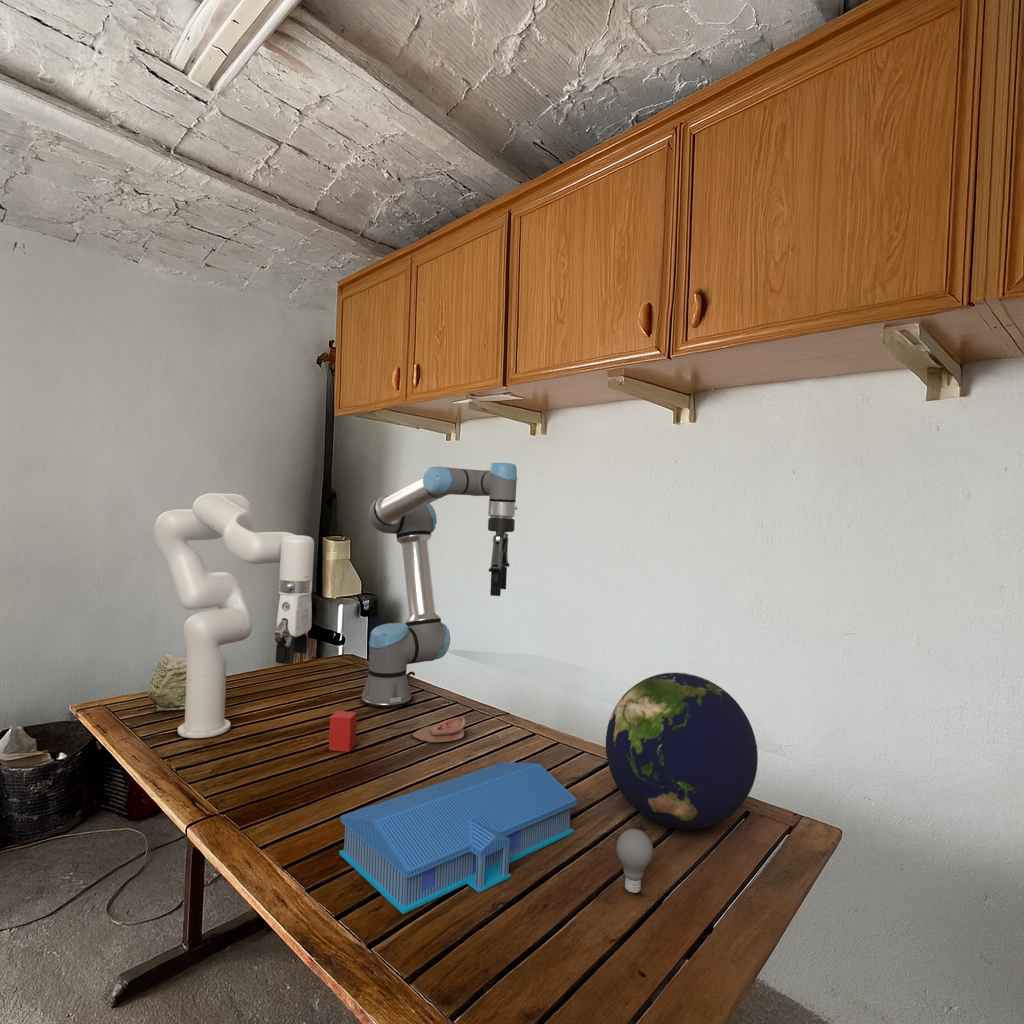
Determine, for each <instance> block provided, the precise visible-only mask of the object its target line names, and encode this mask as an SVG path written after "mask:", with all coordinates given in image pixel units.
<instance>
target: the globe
mask: <svg viewBox="0 0 1024 1024" xmlns="http://www.w3.org/2000/svg"><path fill="white" fill-rule="evenodd" d="M605 755H606V760H607V765H608V769H609V772H610V773H611V774H610V775H611V776H612V779H613V781H614V784H615V786H616V787H617V788H618V790H619V792H620V793H621V795H622V796H623V797H624V799H625V800H626V801H627V802H628V803H629V805H631V806H632V807H633V808H634V809H635V810H636V811H637V812H639V813H640V814H641V815H642V816H643V817H645V818H647V819H649V820H650V821H652V822H654V823H657V824H659V825H661V826H664V827H667V828H670V829H671V828H672V829H677V830H685V831H686V830H687V831H690V830H701V829H706V828H710V827H712V826H715V825H718V824H719V823H721V822H723V821H725V820H726V819H728V818H730V817H731V816H732V815H733V814H735V812H737V811H738V810H739V808H741V806H742V805H743V803H744V802H745V801H746V800H747V798H748V796H749V795H750V793H751V791H752V788H753V786H754V783H755V780H756V776H757V772H758V762H759V761H758V760H759V759H758V758H759V757H758V756H759V754H758V745H757V740H756V736H755V732H754V729H753V727H752V724H751V722H750V720H749V718H748V716H747V715H746V713H745V711H744V710H743V708H742V707H741V706H740V704H739V703H738V702H737V700H735V698H734V697H733V696H732V695H731V694H730V693H729V692H728V691H726V690H725V689H723V688H722V687H721V686H719V685H718V684H716V683H714V682H713V681H710V680H709V679H707V678H704V677H701V676H698V675H696V674H691V673H686V672H679V671H677V672H665V673H658V674H655V675H652V676H649V677H646V678H644V679H643V680H641V681H639V682H637V683H636V684H635V685H633V686H631V687H630V688H629V689H628V690H627V691H626V692H625V693H624V694H623V695H622V696H621V697H620V699H619V700H618V702H617V703H616V704H615V706H614V708H613V710H612V712H611V714H610V717H609V720H608V723H607V728H606V733H605Z"/></svg>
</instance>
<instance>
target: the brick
mask: <svg viewBox="0 0 1024 1024" xmlns="http://www.w3.org/2000/svg"><path fill="white" fill-rule="evenodd" d="M357 719H358V712H357V711H345V710H336V711H335V712H333V714H331V716H329V731H328V732H329V734H328V751H332V752H333V751H334V752H347V753H350V752H351V751H352V750H353V749H354V748H355V746H356V745H357V722H358V720H357Z"/></svg>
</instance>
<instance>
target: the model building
mask: <svg viewBox="0 0 1024 1024" xmlns="http://www.w3.org/2000/svg"><path fill="white" fill-rule="evenodd" d="M577 805H578V799H577V798H576V797H575V796H574V795H573V794H572V793H571V792H570V791H569V790H568V789H567V788H566V787H565V786H564V785H562V784H561V783H560V781H559V780H557V779H556V778H555V777H554V776H553V775H552V774H551V773H550V772H549V771H548V770H547V769H546V768H544V766H542V765H541V764H540V763H538V762H537V763H535V762H534V763H533V762H510V761H509V762H508V761H502V762H500V763H496V764H494V765H490V766H487V767H485V768H481V769H479V770H476V771H475V770H474V771H472V772H469V773H466V774H463V775H459V776H458V777H454V778H451V779H448V780H444V781H442V782H439V783H436V784H432V785H429V786H427V787H424V788H421V789H417V790H414V791H412V792H409V793H406V794H403V795H399V796H395V797H393V798H391V799H387V800H383V801H382V802H378V803H375V804H372V805H369V806H366V807H362V808H360V809H357V810H353V811H351V812H348V813H345V814H342V815H340V822H341V823H342V825H344V846H343V849H342V850H339V851H338V855H339V856H340V857H341V858H343V859H344V860H345V862H347V864H349V865H350V866H351V867H352V868H353V869H354V870H355V871H357V872H358V873H359V874H360V875H361V876H362V878H364V879H365V881H367V882H368V883H369V884H370V885H371V886H372V887H373V888H374V889H375V890H376V891H377V892H379V893H380V894H381V895H382V896H383V897H384V898H385V899H386V900H387V901H388V902H389V903H390V904H392V906H393V907H395V908H396V909H397V910H398V911H399V912H400V913H401V914H402V915H405V914H407V913H409V912H411V911H413V910H415V909H417V908H419V907H422V906H423V905H426V904H427V903H430V902H432V901H434V900H436V899H439V898H440V897H443V896H444V895H446V894H449V893H451V892H453V891H455V890H457V889H459V888H461V887H463V886H465V885H468V886H469V887H471V888H472V889H473V890H474V891H476V892H477V893H478V894H480V893H483V892H484V891H486V890H489V889H490V888H492V887H494V886H497V885H498V884H500V883H502V882H505V881H506V880H508V879H510V878H511V877H512V874H511V873H509V869H510V868H509V866H510V864H511V863H514V862H515V861H519V860H520V859H521V858H524V857H526V856H528V855H531V854H533V853H535V852H537V851H539V850H541V849H543V848H545V847H547V846H549V845H551V844H553V843H555V842H557V841H560V840H562V839H564V838H566V837H568V836H570V835H573V834H574V833H575V830H574V829H572V827H571V808H573V807H575V806H577Z"/></svg>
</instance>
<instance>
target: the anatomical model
mask: <svg viewBox="0 0 1024 1024" xmlns="http://www.w3.org/2000/svg"><path fill="white" fill-rule="evenodd" d="M465 726H466V719H465V717H463V716H457V717H453V718H449V719H446V720H444V721H440V722H438V723H435V724H432V725H429V726H424V727H422V728H420V729H418V730H416V731H415V732H414V733H412V737H413V738H415V739H418V740H420V741H424V742H427V743H444V742H445V743H446V742H452V741H458V740H461V739H462V738H464V736H465V730H464V728H465Z"/></svg>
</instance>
